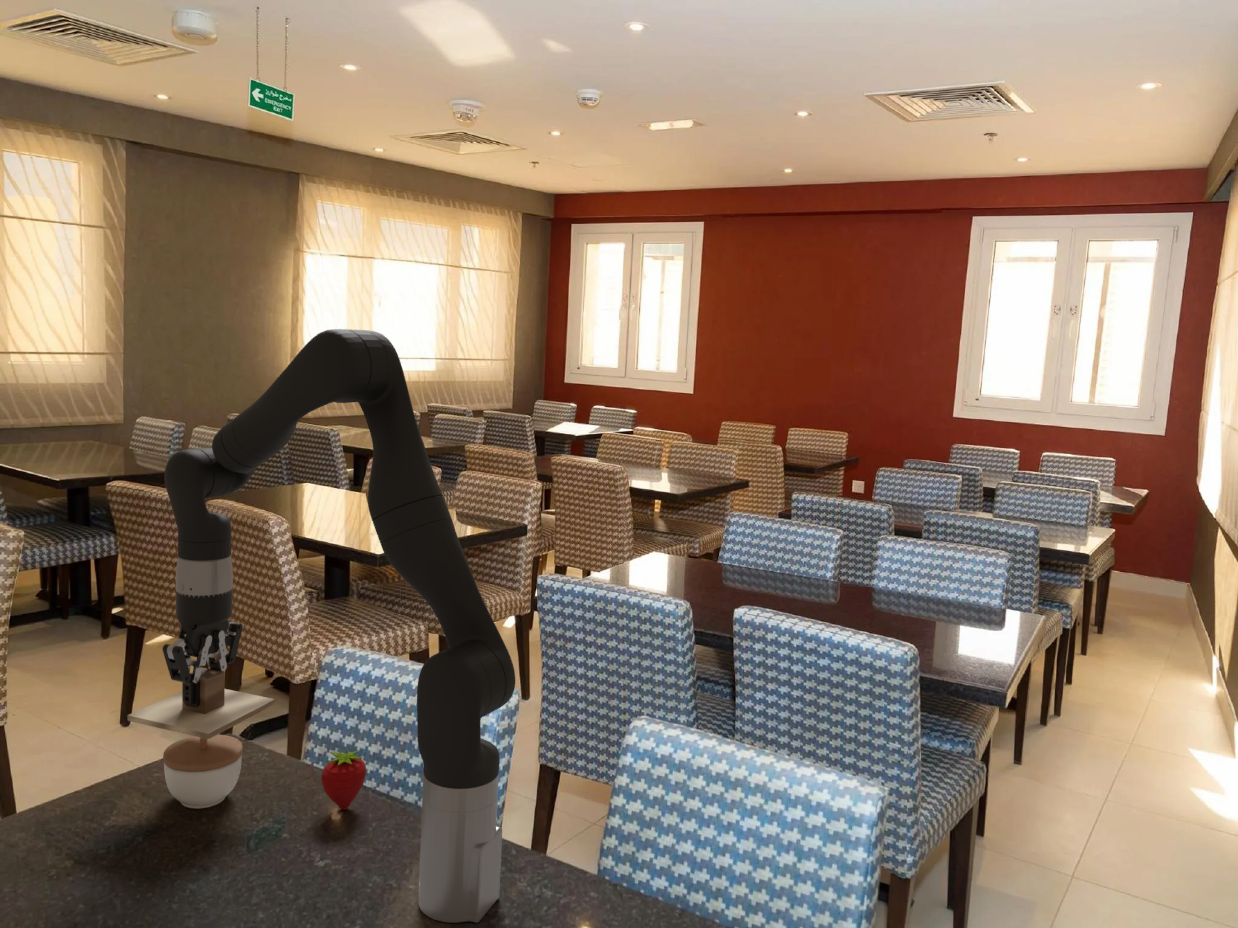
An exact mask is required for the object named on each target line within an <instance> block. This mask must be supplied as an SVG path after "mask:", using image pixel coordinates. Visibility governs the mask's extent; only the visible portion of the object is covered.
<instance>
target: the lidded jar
mask: <svg viewBox="0 0 1238 928" xmlns="http://www.w3.org/2000/svg"><path fill="white" fill-rule="evenodd" d="M243 747H244V746H243V743H242V742H241V741H240V740H239V739H238V738H235V737H233V736H230V735H226V734H217V735H216V736H214V737H212V738H210V739H205V738H201V737H196V736H189V737H185V738H183V739H180V740H179V739H178V740H177V741H175V742H173V743H172V744H170V745H169V746H167V747H166V748H165V750H164V751H163V754H162V755H163V757H162V758H163V769H164V770H163V771H164V780H165V782H166V787H167V789H168V791H169V793H170V794H171V796H172V797H173V798H174V799H176V800H177V801H178V802H180V804H181V805H182V806H184V807H185V808H188V809H206V808H207V809H208V808H211V807H215V806H217V805H219V804H221V803H222V802H223V801H224V800H225V799H226V797H227V796H229V794H230V792H232V791H233V789H234V788H235V787H236V786H237V783H238V780H239V777H240V774H241V770H242V769H241V768H242V762H243V761H242V756H243Z"/></svg>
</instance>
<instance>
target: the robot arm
mask: <svg viewBox="0 0 1238 928" xmlns="http://www.w3.org/2000/svg"><path fill="white" fill-rule="evenodd" d="M405 377H406V376H405V373H404V369H403V366H402V362H401V360H400V357H399V354H398V351H397V350H396V347H394V345H393V343H392V342H391V340H390V339H389V338H388V337H386V336H385V335H384V334H382V333H381V332H377V331H375V330H364V329H352V328H351V329H348V328H345V329H343V328H334V329H327V330H324V331H321V332H319V333H317V334H316V335H314V337H312V338H311V339H310V340H308V342H307V343H306V344H305V345H304V346H303V347H302V349H300V351H299V352H298V353H297V354H296V355H295V357H294V358H293V359H292V360H291V361H290V363H289V364H288V365H287V367H286V368H285V369H284V370H283V371H282V372H281V374H279V376H278V377H277V378H276V379H275V380H274V381H273V383H271V385H270V386H269V387H268V388H267V389H266V390H265V391H264V392H263V394H262V395H261V396H259V398H258V399H257V400H256V401H254V402H253V403H252V404H250V406H248V407H247V408H246V409H244V410H243V411H242V412H240V413H239V414H238V415H236V416H235V417H234V418H233V419H231V420H230V421H229V422H227V423H226V424H225V425H224V426H222V427H221V428H220V429H219V430H218V431H217V433H215V435H214V437H213V439H212V442H211V443H212V444H211V447H204V448H203V447H202V448H201V447H200V448H190V449H182V450H178V451H177V452H175V453H174V454H172V455H171V456H170V458H169V459H168V461H167V464H166V465H165V469H164V474H163V475H164V477H163V478H164V485H165V489H166V492H167V496H168V498H169V502H170V506H171V508H172V513H173V516H174V519H175V523H176V527H177V563H176V569H175V617H176V620H177V621H178V622H179V624H180V629H179V633H178V636H177V637H178V639H177V640H176V641H174V642H173V643H172V644H169V643H165V644H163V647H162V652H163V656H164V660H165V664H166V666H167V670H168V673H169V677H170V680H172V681H175V682H180V683H182V682H183V702H184V703H185V705H186V706H189V707H193V708H195V707H198V706H199V705H200V682H199V680H200V676H201V671H202V668H205V666H206V664H207V667H208V668H207V669H212V670H217V671H222V672H225V671H226V670H227V668H228V665H229V664H234V663H235V661H236V659H237V653H238V649H239V646H240V645H239V644H240V640H241V637H242V631H243V624H242V623H239V622H235V621H229V619H230V618H231V617H232V616H233V607H234V606H233V603H234V602H233V598H234V597H233V596H234V595H233V592H234V590H233V589H234V588H233V587H234V586H233V584H234V583H233V581H234V575H233V574H234V573H233V572H234V571H233V569H234V568H233V562H232V523H231V520H230V518H229V517H228V516H226V515H225V514H222V513H218V512H210V511H209V509H208V507H207V505H206V502H205V499H207V498H214V497H224V496H227V495H231V494H233V493H235V492H237V491H238V490H240V489H242V487H244V485H245V484H246V483H247V482H248V481H249V479H250V478H251V476H252V475H253V474H254V472H255V471H256V470H257V467H259V466H261V465H262V464H263V463H264V462H265V463H266V461H268V460H269V459H270V458H272V457H273V456H275V455H276V454H277V453H278V452H280V451H281V450H282V449H283V448H284V447H285V446H286V445H287V444H288V443H289V442H290V440H291V438H292V436H293V435H294V432H295V430H296V428H297V425H298V422H299V421H301V419H302V418H304V417H305V416H306V415H308V414H309V413H311V412H313V411H315V410H317V409H319V408H321V407H325V406H326V405H329V404H332V403H335V404H348V403H349V404H350V403H358V405H359V407H360V409H361V411H362V413H363V416H364V418H365V422H366V424H367V427H368V430H369V431H368V432H369V433H370V437H371V442H372V460H371V461H372V462H371V470H370V474H369V481H368V491H367V505H368V512H369V515H370V518H371V521H372V524H373V526H374V530H375V532H376V535H377V538H378V541H379V543H380V546H381V548H382V551H383V554H384V556H385V557H386V559H387V561H388V562H389V563H390V565H391V566H392V568H393V569H395V571H396V572H397V574H399V576H401V577H402V579H404V580H405V582H406V583H408V584H409V586H410V587H412V588H413V589H414V590H415V591H416V592H417V594H419V596H421V597H422V598H423V600H424V601H425V602H426V603H427V604H428V605H429V606H430V608H431V610H432V611H433V612H434V614H435V616H436V619H437V620H438V622H439V624H440V627H441V629H442V632H443V634H444V637H445V641H446V643H447V645H448V648H447V649H444V650H441V651H439V652H436V653H435V654H433V655H431V656H430V657H429V658H428V659H426V661H425V662H424V664H423V665H422V667H421V669H420V671H419V674H418V678H417V679H418V680H417V686H416V687H417V689H416V721H417V722H416V723H417V724H416V725H417V727H416V728H417V733H416V734H417V745H418V751H419V754H420V756H421V759H422V763H423V768H422V769H423V771H422V772H423V773H422V797H421V799H422V800H421V822H420V823H421V824H420V825H421V826H420V846H419V847H420V850H419V851H420V852H419V880H418V907H419V909H420V911H421V912H422V913H423V914H424V915H425V916H427V917H428V918H430V919H432V920H435V921H439V922H442V923H443V922H444V923H464V922H473V923H479V922H480V921H481V920H482V918H484V917H485V916H486V914H487V913H488V911H489V910H490V909H491V907H492V906H493V905H494V904H495V903H496V901H497V900H498V899H499V898H500V887H501V886H500V885H501V865H502V864H501V863H502V846H503V845H502V844H503V843H502V842H503V828H502V827H501V826H498V825H497V817H498V816H497V815H498V796H499V795H498V794H499V778H500V777H499V773H500V759H501V758H500V752H499V749H498V748H497V746H496V745H495V744H494V743H492V742H491V741H488V740H486V739H484V738H481V737H482V735H481V734H482V733H481V719H482V718H483V717H486V716H488V715H490V714H491V713H493V712H494V711H496V710H498V709H501V707H504V706H505V705H506V704H508V702H509V701H510V700H511V698H512V697H513V695H514V692H515V688H516V673H515V672H516V671H515V667H514V663H513V660H512V657H511V655H510V653H509V650H508V647H507V646H506V644H505V641H504V640H503V638H502V636H501V634H500V632H499V630H498V627H497V626H496V623H495V621H494V619H493V618H492V615H491V614H490V611H489V609H488V606H487V605H486V603H485V601H484V599H483V597H482V595H481V592H480V590H479V587H478V585H477V583H476V580H475V577H474V574H473V572H472V570H471V567H470V565H469V562H468V560H467V558H466V554H465V552H464V550H463V547H462V545H461V542H460V539H459V537H458V534H457V531H456V528H455V525H454V521H453V519H452V516H451V513H450V510H449V508H448V505H447V502H446V500H445V497H444V494H443V492H442V490H441V487H440V485H439V482H438V480H437V478H436V475H435V472H434V469H433V466H432V464H431V462H430V461H431V460H430V457H429V454H428V452H427V449H426V447H425V444H424V443H425V442H424V440H423V437H422V435H421V432H420V429H419V426H418V422H417V419H416V415H415V412H414V409H413V408H414V407H413V405H412V400H411V395H410V393H409V392H410V391H409V389H408V384H407V380H406V378H405ZM228 647H229V651H228V650H227V648H228ZM192 657H193V658H192ZM195 658H197V659H195ZM191 667H193V669H192V672H193V673H191Z"/></svg>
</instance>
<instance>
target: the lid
mask: <svg viewBox="0 0 1238 928" xmlns="http://www.w3.org/2000/svg"><path fill="white" fill-rule="evenodd" d="M190 673H193V671H190ZM225 673H226V672H225V671H224V672H222V671H217V670H212V669H209V668H207V667H202V671H201V676H200V680H199V682H200V705H199V706H198V707H195V708H193V707H189V706H186V705H185V703H184V702H183V682H181V683H182V684H181V685H182V687H181V688H182V689H181V691H180V692H177V693H175V694H172V695H170V696H167V697H166V698H163V699H162V700H159V701H157V702H154V703H152V704H150V705H147V706H145V707H143V708H140V709H139V710H137V711H134V712H131V713H129V714H127V722H132V723H136V724H140V725H145V726H149V727H154V728H157V729H158V728H159V729H163V730H166V731H171V732H175V733H181V734H182V735H183V734H184V735H188V736H191V737H193V736H196V737H201V738H205V739H210V738H212V737H214V736H216V735H220V734H221V733H223V732H225V731H227V730H229V729H231V728H233V727H234V726H237V725H238V724H240V723H242V722H244V721H246V720H247V719H249V718H252V717H254V716H256V715H257V714H259V713H262V712H263V711H265V710H267V709H269V708H270V707H273V706H274V705H276V704H275V703H276V699H275V698H271V697H265V696H262V695H257V694H251V693H247V692H243V691H238V690H237V691H236V690H232V689H227V688H226V687H225V685H226V684H225V683H226V682H225V680H226V679H225V675H226V674H225Z"/></svg>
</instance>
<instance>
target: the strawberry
mask: <svg viewBox="0 0 1238 928" xmlns="http://www.w3.org/2000/svg"><path fill="white" fill-rule="evenodd" d="M340 744H341V745H342V746H343V748H345V750H347V752H346V753H345V752H335V751H329V752H330V754H331V755H332V756H334V757H335V758H334V759H332V760H330V761H329V762H327V764H326V765H325V766H324V768H323V769H322V773H321V777H320V778H321V779H320V780H321V785H322V787H323V790H324V793H325V794H326V795H327V797H329V798H330V800H331V801H332V802H333V803H334V804H335V805H337V806H338V808H339V809H340V810H347V809H348V808H349V807H350V806H351V803H352V802H353V801H354V799H355V798H356V797H357V795H358V794H359V792H360V790H361V789H362V787H363V786H364V785H363V784H364V782H365V779H366V775H367V767H366V763H365V761H364V760H363V759H364V758H363V757H361V756H357V755H355V754H357V753H359V750H356V751H350V752H349V749H348V748H347V747H346V745H344V744H343V743H342V742H340Z"/></svg>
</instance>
